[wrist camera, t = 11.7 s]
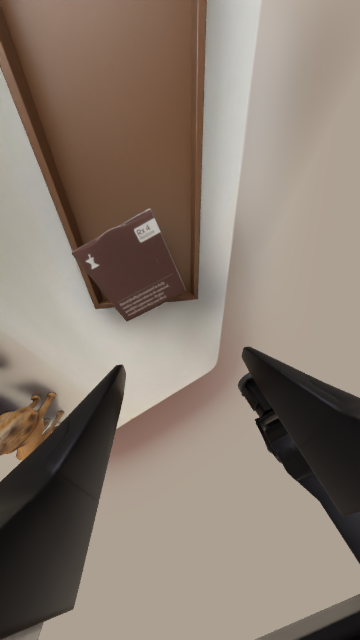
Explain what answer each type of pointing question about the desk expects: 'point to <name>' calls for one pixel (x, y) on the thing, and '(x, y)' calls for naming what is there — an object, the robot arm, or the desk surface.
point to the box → (132, 266)
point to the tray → (113, 114)
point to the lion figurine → (26, 428)
